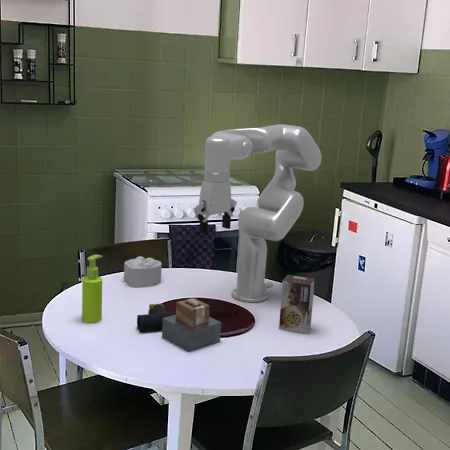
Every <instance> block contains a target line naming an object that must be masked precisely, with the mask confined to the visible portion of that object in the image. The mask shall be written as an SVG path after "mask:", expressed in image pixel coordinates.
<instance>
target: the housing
mask: <svg viewBox="0 0 450 450" xmlns="http://www.w3.org/2000/svg"><path fill="white" fill-rule="evenodd" d="M186 300H187V304H188V305H190V306H192V307H194V308H195V307H199V302H198V301H196V300H193V299H192V298H188V299H186ZM221 329H222V322H221V321H219V320H217V319H215V318H213V317H211V316H209V322H207V323H203V324H200V325H196V326H193V327H191V326H189V325H187V324H185V323H183V322H181V321H179V320H177V319H176V315H173V316H169V317H165V318H163V324H162V330H161V338H162V339H164V340H166V341H167V342H169V343H171V344H172V345H175V346H177V347H179V348H180V349H182V350H184V351H185V352H186V353H189V352H193V351H196V350H198V349H202V348H205V347H208V346H211V345H213V344H217V343H220V342H221V332H222V330H221Z"/></svg>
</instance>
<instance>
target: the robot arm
mask: <svg viewBox="0 0 450 450" xmlns="http://www.w3.org/2000/svg"><path fill="white" fill-rule="evenodd" d="M204 149H205V153H204V181H202V182H201V187H200V192H199V199H198V204H197V205H196V206H195V207H194V208H193V212H194V214H195V215H194V216H195V217H196V219H197V220H198V221H199V230H198V231H199V233H201V234H202V235H208V234H209V222H208V220H209V217H210V216H215V215H219V214H222V216H221V217H222V219H221V221H222V222H221V224H222V225H221V227H222V229H223V228H224V229H227V230H230V229H231V222H232V221H231V218H232V217H233V213H234V212H235V210H236V207H237V203H238V202H237V200H235V199H233V198H232V188H231V187H232V186H231V181H230V176H231V172H230V166H231V165H230V163H231V162H230V161H231V160H237V161H238V160H243V159H246V158H248V157H249V156H250V155H251V154H259V155H261V154H266V153H269V152H275V151H276V152H275V173H274V176H273V177H272V179H271V180H270V181H269V182H268V184H267V185H266V186H265V188H264V189H263V191H262V192H261V193H260V195H259V196H258V199H257V207H255V206H254V207H253V206H249V207H246V208H243V209H242V210H241V211H240V212H239V215H238V218H237V225H238V227H237V228H238V233H239V234H238V235H239V245H238V247H239V248H238V249H239V250H238V262H237V263H238V264H237V278H236V288H234V289H232V291H231V297H232V298H234V299H235V300H238V301H241V302H244V303H245V302H246V303H260V302H263V301H266V300H267V299H268V296H269V295H268V292H267V291H266V290H267V289H271V288H273V286H274V283H273V282H272V281H268V282H265V279H266V267H267V266H266V265H267V255H268V254H267V253H268V247H267V246H268V245H267V242H266V240H269V241H273V242H278V241H281V240H283V239H284V238H285V237H286V235H287V234H288V233H289V232H290V230H291V229H292V228H293V226H294V225H295V223H296V221H298V218H299V217H300V216H301V214H302V211H303V209H304V204H305V203H304V196H302V194H301V193H300V192H298V191H296V190H295V189H296V186H297V181H296V177H295V174H294V169H296V170H301V171H302V170H303V171H308V172H313V171H316V170H317V169H319V167H320V165H321V163H322V153H321V150H320V148H319V146H318V144H317V142H315V140H314V138H313V137H312V135H311V134H310V133H309V131H308V130H307V129H306V128H305V127H303V126H300V125H299V126H297V125H290V124H284V123H282V124H273V125H266V126H261V127H251V128H250V127H248V128H234V129H233V128H232V129H225V130H220V131H215V132H214V133H212V135H211V136H209V137H207V138H206V140H205V148H204Z"/></svg>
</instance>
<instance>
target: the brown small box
mask: <svg viewBox="0 0 450 450" xmlns="http://www.w3.org/2000/svg"><path fill="white" fill-rule="evenodd" d="M191 299H193V300H196V301H198V302H199V307H195V308H194V307H192V306H190V305H188V304H187V299H185V300H181V301H176V302H175V303H176V304H175V312H176V319H177V320H179V321H181V322H183V323H185V324H187V325H189V326H191V327H193V326H196V325H200V324H203V323H207V322H209V317H210V305H209V304H207V303H205V302H203V301H200V300H198V299H197V298H195V297H192V298H191Z"/></svg>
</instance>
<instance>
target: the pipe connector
mask: <svg viewBox="0 0 450 450" xmlns="http://www.w3.org/2000/svg"><path fill="white" fill-rule="evenodd" d="M148 307H149V308H148V312H147V313H148V314H147V313H146V314H138V315H137V316H136V326H137V327H136V328H137V331H138V332H139V333H143V332H144V333H146V332H152V331H162V324H163V318H165V317H169V316H173V315H176V311H172V312H171V311H170V312H168V311H167V310H166V308H165V306H164V304H163V303H155V304H154V303H150V304H149V306H148Z"/></svg>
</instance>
